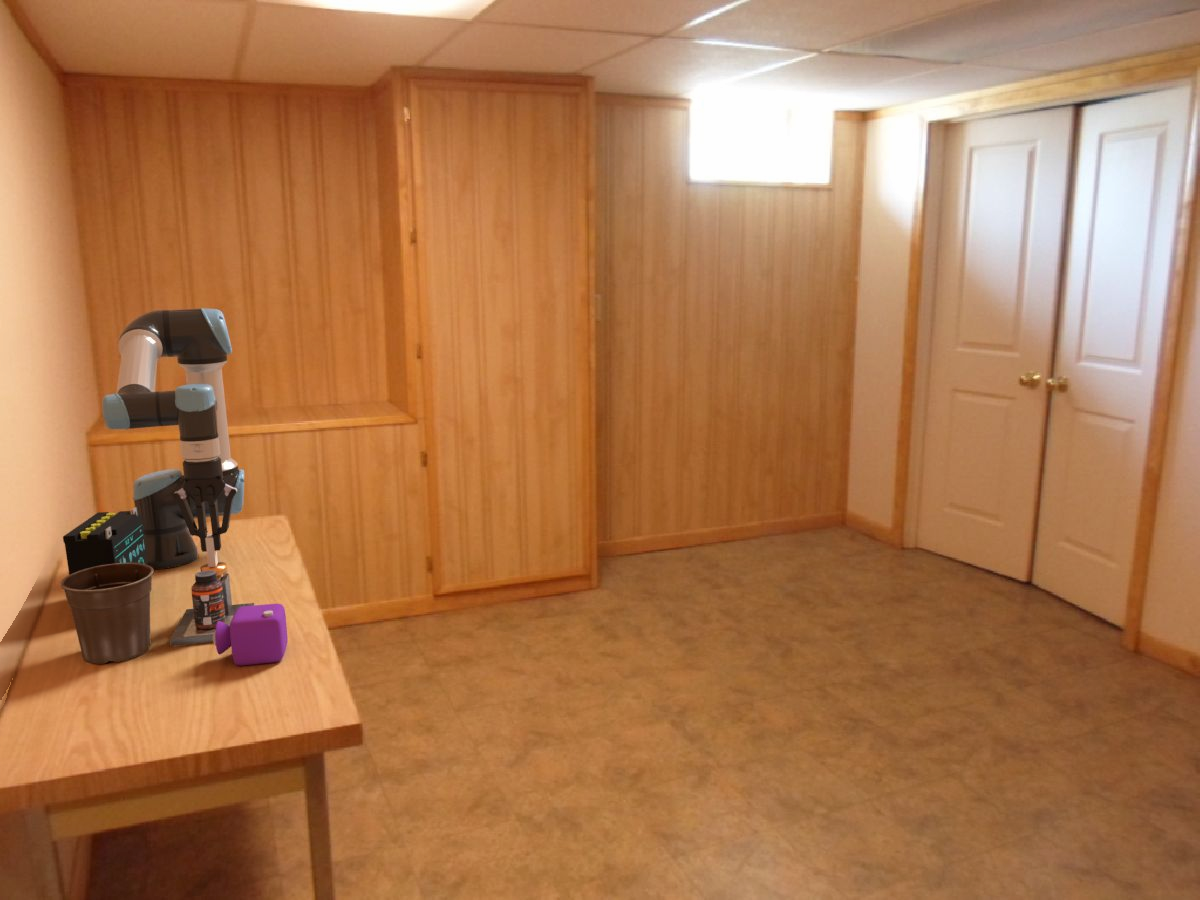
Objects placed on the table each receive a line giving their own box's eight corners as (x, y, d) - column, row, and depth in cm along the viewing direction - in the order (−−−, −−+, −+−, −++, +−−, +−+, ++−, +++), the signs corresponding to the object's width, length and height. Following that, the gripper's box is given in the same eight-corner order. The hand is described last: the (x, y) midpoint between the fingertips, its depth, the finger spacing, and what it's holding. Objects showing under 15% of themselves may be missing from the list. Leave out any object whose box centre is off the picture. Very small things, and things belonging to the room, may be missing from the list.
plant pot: (181, 641, 188) (172, 566, 185) (116, 674, 174) (105, 593, 170) (120, 631, 194) (110, 558, 190) (52, 663, 179) (40, 585, 176)
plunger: (206, 593, 202) (202, 563, 200) (231, 591, 203) (228, 561, 201) (201, 602, 197) (198, 570, 195) (227, 599, 198) (224, 568, 196)
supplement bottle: (214, 631, 188) (208, 578, 186) (189, 629, 190) (182, 577, 187) (231, 620, 194) (226, 569, 192) (206, 618, 195) (201, 567, 193)
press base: (187, 615, 202) (182, 576, 200) (254, 609, 205) (250, 570, 203) (170, 646, 186) (165, 604, 184) (243, 639, 189) (239, 597, 187)
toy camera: (214, 653, 182) (209, 606, 180) (287, 641, 187) (282, 595, 185) (215, 675, 172) (210, 625, 170) (292, 662, 178) (287, 613, 176)
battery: (121, 617, 202) (110, 530, 198) (74, 620, 200) (62, 532, 196) (150, 587, 220) (140, 506, 216) (108, 589, 219) (97, 508, 215)
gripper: (164, 464, 188) (177, 573, 193) (231, 459, 191) (242, 567, 196) (172, 456, 195) (184, 562, 200) (237, 452, 198) (247, 557, 203)
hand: (213, 565), depth 198 cm, fingers closed
